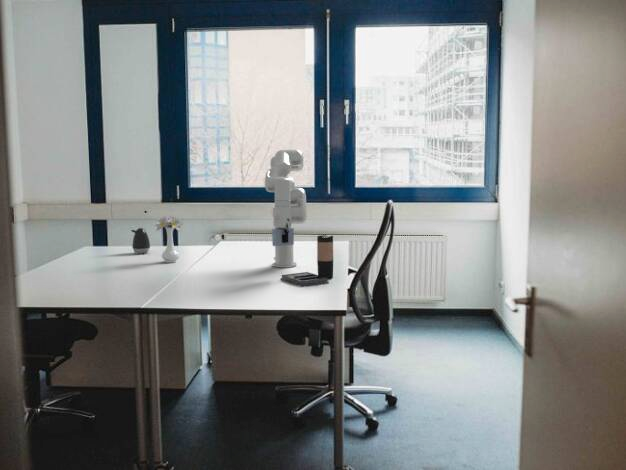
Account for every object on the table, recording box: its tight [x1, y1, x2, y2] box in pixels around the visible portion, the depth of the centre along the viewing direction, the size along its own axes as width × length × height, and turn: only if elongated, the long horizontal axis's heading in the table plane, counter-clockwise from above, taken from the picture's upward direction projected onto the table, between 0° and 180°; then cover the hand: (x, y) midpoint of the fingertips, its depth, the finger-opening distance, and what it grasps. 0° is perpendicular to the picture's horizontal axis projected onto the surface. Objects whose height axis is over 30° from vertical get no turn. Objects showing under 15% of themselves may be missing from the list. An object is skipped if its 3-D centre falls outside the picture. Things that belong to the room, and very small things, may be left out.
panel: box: [271, 227, 295, 247], centre depth 328 cm, size 3×10×8 cm, turn 122°
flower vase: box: [155, 216, 183, 264], centre depth 374 cm, size 13×18×25 cm
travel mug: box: [316, 234, 334, 280], centre depth 326 cm, size 8×8×20 cm
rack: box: [280, 271, 330, 288], centre depth 319 cm, size 20×14×3 cm
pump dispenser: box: [130, 227, 151, 255], centre depth 403 cm, size 10×10×15 cm
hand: (283, 241), depth 329 cm, fingers closed on panel, 3 cm apart
